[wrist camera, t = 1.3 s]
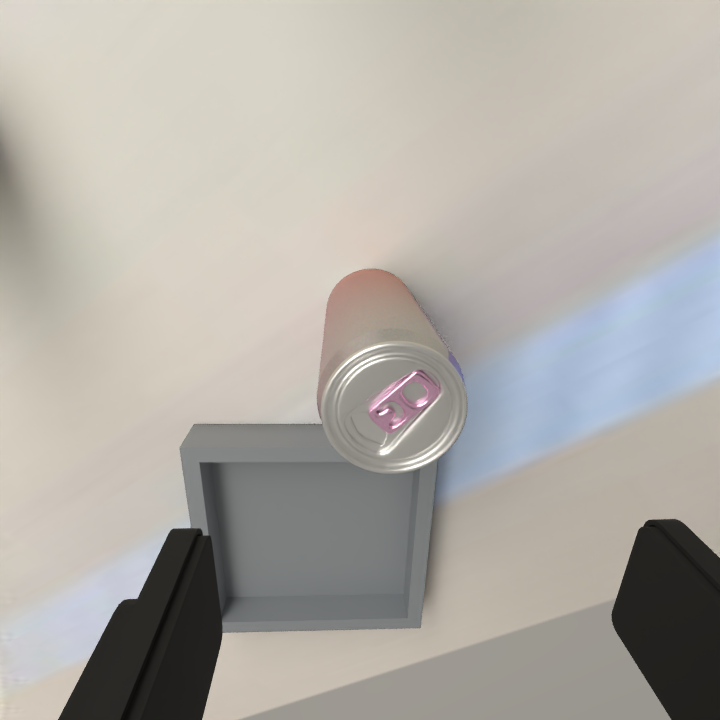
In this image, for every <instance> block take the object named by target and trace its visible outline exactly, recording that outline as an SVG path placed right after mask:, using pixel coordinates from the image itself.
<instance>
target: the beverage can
mask: <svg viewBox="0 0 720 720" xmlns="http://www.w3.org/2000/svg"><path fill="white" fill-rule="evenodd" d="M317 406H318V411H319V415H320V418H321V421H322V425H323V428H324V431H325V434H326V436H327V438H328V440H329V442H330V443H331V445H332V446H333V447H334V449H335V450H336V451H337V452H338V453H339V454H340V455H341V456H342V457H343V458H345V459H346V460H347V461H349V462H350V463H352V464H354V465H356V466H358V467H360V468H362V469H365V470H368V471H372V472H376V473H384V474H398V473H405V472H410V471H414V470H417V469H420V468H422V467H425V466H427V465H429V464H431V463H432V462H434V461H436V460H437V459H438V458H440V457H441V456H442V455H444V454H445V453H446V452H447V451H448V450H449V449H450V448H451V447H452V445H453V444H454V443H455V441H456V440H457V438H458V437H459V435H460V433H461V431H462V429H463V427H464V424H465V420H466V416H467V408H468V401H467V393H466V389H465V383H464V378H463V374H462V371H461V369H460V366H459V364H458V363H457V361H456V359H455V358H454V356H453V355H452V353H451V352H450V350H449V349H448V347H447V346H446V344H445V343H444V341H443V340H442V339H441V337H440V336H439V334H438V333H437V331H436V330H435V328H434V327H433V325H432V324H431V322H430V321H429V319H428V318H427V316H426V315H425V313H424V312H423V310H422V309H421V307H420V306H419V304H418V303H417V302H416V300H415V299H414V297H413V296H412V294H411V293H410V291H409V290H408V288H407V287H406V285H405V284H404V283H403V282H402V281H401V280H400V279H399V278H397V277H396V276H394V275H393V274H391V273H389V272H386V271H383V270H379V269H364V270H359V271H356V272H353V273H351V274H349V275H347V276H346V277H344V278H343V279H342V280H341V281H340V282H339V283H338V284H337V285H336V286H335V288H334V289H333V291H332V292H331V294H330V297H329V299H328V303H327V309H326V318H325V327H324V336H323V345H322V354H321V363H320V372H319V382H318V391H317Z"/></svg>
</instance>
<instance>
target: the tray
mask: <svg viewBox="0 0 720 720" xmlns="http://www.w3.org/2000/svg"><path fill="white" fill-rule="evenodd" d="M180 454H181V461H182V468H183V475H184V482H185V489H186V496H187V502H188V509H189V516H190V523H191V528H201V530H202V532H203V536H204V535H210V536H211V539H212V546H213V554H214V562H215V570H216V578H217V585H218V593H219V601H220V609H221V617H222V626H223V631H222V633H230V632H273V631H316V630H359V629H402V628H421V619H422V609H423V600H424V590H425V580H426V570H427V561H428V551H429V541H430V532H431V522H432V512H433V503H434V493H435V483H436V474H437V464H438V459H437V460H436V461H434V462H432V463H431V464H429V465H427V466H425V467H422V468H420V469H417V470H414V471H410V472H405V473H398V474H384V473H376V472H372V471H368V470H365V469H362V468H360V467H358V466H356V465H354V464H352V463H350V462H349V461H347V460H346V459H345V458H343V457H342V456H341V455H340V454H339V453H338V452H337V451H336V450H335V449H334V447H333V446H332V445H331V443H330V442H329V440H328V438H327V436H326V434H325V431H324V428H323V425H322V424H194V425H193V427H192V428H191V430H190V432H189V433H188V435H187V436H186V438H185V440H184V441H183V443H182V445H181V446H180Z"/></svg>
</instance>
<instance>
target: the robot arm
mask: <svg viewBox="0 0 720 720" xmlns="http://www.w3.org/2000/svg"><path fill="white" fill-rule="evenodd" d="M612 622H613V626H614V628H615V630H616V632H617V634H618V636H619V637H620V639H621V640H622V642H623V643H624V645H625V647H626V648H627V650H628V651H629V653H630V655H631V656H632V658H633V659H634V661H635V663H636V664H637V666H638V667H639V669H640V670H641V672H642V674H643V675H644V676H645V678H646V680H647V682H648V683H649V685H650V686H651V688H652V689H653V691H654V693H655V694H656V696H657V697H658V699H659V701H660V702H661V704H662V705H663V707H664V708H665V710H666V712H667V713H668V715H669V716H670V718H671V720H720V558H719V557H718V556H717V555H716V554H715V553H714V552H713V551H712V550H711V549H710V548H709V547H708V546H707V545H706V544H705V543H704V542H703V541H702V540H700V539H699V538H698V537H697V536H696V535H695V534H694V533H693V532H692V531H691V530H690V529H689V528H688V527H687V526H686V525H685V524H684V523H682V522H681V521H679V520H676V519H664V520H648V521H647V522H645V524H644V526H643V527H641V528H640V529H639V531H638V533H637V536H636V539H635V542H634V545H633V548H632V552H631V555H630V558H629V561H628V564H627V567H626V570H625V573H624V576H623V580H622V583H621V586H620V589H619V592H618V595H617V598H616V601H615V604H614V608H613V611H612ZM222 631H223V626H222V617H221V609H220V601H219V593H218V585H217V578H216V570H215V562H214V554H213V546H212V539H211V536H210V535H204V536H203V532H202V530H201V528H185V529H172V530H171V531H170V533H169V534H168V536H167V538H166V541H165V543H164V545H163V547H162V549H161V551H160V553H159V555H158V557H157V559H156V561H155V563H154V566H153V568H152V570H151V572H150V574H149V576H148V578H147V580H146V582H145V584H144V586H143V588H142V591H141V593H140V595H139V597H138V599H127V600H123V601H122V602H121V603H120V604H119V605H118V607H117V608H116V610H115V612H114V613H113V615H112V617H111V619H110V621H109V623H108V625H107V627H106V629H105V631H104V632H103V634H102V636H101V638H100V640H99V642H98V644H97V646H96V648H95V650H94V652H93V654H92V656H91V657H90V659H89V661H88V663H87V665H86V667H85V669H84V671H83V673H82V675H81V677H80V679H79V681H78V682H77V684H76V686H75V688H74V690H73V692H72V694H71V696H70V698H69V700H68V702H67V704H66V706H65V707H64V709H63V711H62V713H61V715H60V717H59V719H58V720H202V718H203V714H204V710H205V706H206V702H207V698H208V694H209V690H210V686H211V682H212V678H213V674H214V670H215V666H216V662H217V658H218V654H219V650H220V646H221V640H222Z"/></svg>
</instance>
